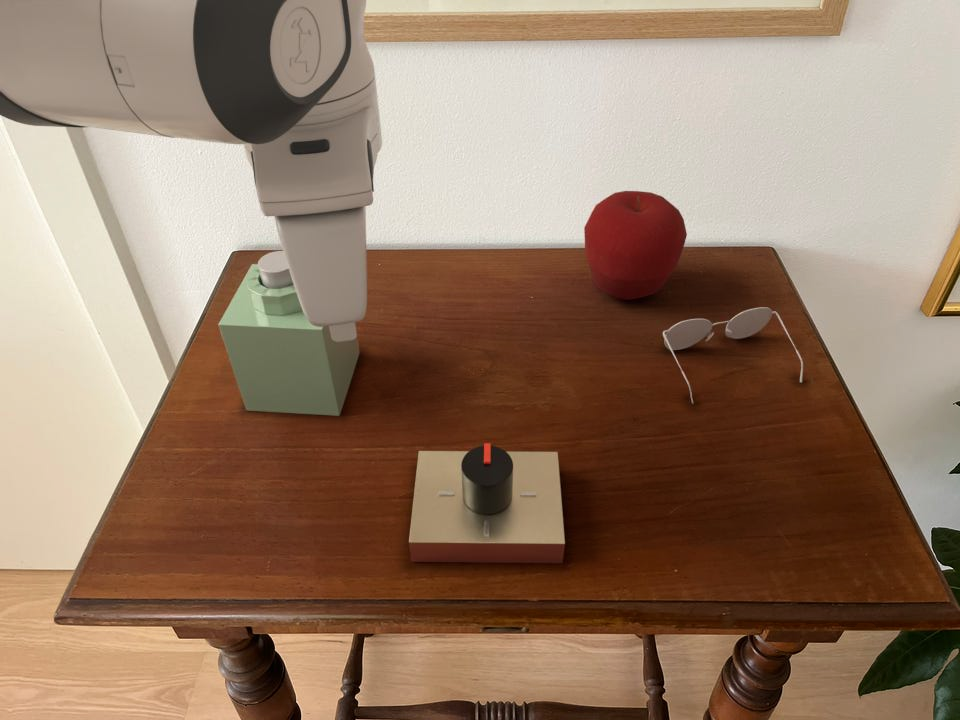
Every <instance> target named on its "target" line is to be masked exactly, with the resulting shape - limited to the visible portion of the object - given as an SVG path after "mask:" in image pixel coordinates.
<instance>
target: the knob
mask: <svg viewBox="0 0 960 720" xmlns="http://www.w3.org/2000/svg"><path fill="white" fill-rule="evenodd" d="M468 451H469V452H468V453H467V454H466V455H465V456H464V458H463V460H462V463H461V471H462V494H463V500H464V502H465V504H466V505H467V506H468V507H469V508H470V509H471V510H473V511H475V512H477V513H480V514H494V513H498V512H500V511H502V510H503V509H505V508H506V507H507V506H508V505H509V503H510V502H511V499H512V491H513V461H512V459H511V457H510V455H509V454H508V453H507V452H506V450H504V449H503V448H501V447H500V446H495V445H492V443H490V442H489V443H488V442H487V443H486V442H485V443H483V445H479V446H476V447H473V448H472V449H470V450H468Z"/></svg>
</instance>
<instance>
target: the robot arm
mask: <svg viewBox="0 0 960 720" xmlns="http://www.w3.org/2000/svg"><path fill="white" fill-rule="evenodd" d="M366 8H367V0H0V116H1V117H4V118H5V119H8V120H10V121H13V122H16V123H18V124H23V125H27V126H34V127H53V128H55V127H56V128H57V127H58V128H78V129H79V128H81V129H84V128H94V129H101V130H102V129H103V130H109V131H117V132H124V133H125V132H126V133H133V134H141V135H148V136H156V137H163V138H170V139H171V138H172V139H177V138H178V139H183V140H184V139H185V140H193V141H201V142H206V143H207V142H209V143H216V144H226V145H242V146H243V149H244V153H245V158H246V159H247V162H248V163H249V165H250V167H251V169H252V171H253V179H254V186H255V190H256V194H257V199H258V204H259V208H260V211H261V213H262V215H263V216H265V217H274V222H275V226H276V231H277V234H278V239H279V243H280V245H281V250H282V251H283V252H284V255H285V259H286V262H287V265H288V268H289V271H290V274H291V278H292V281H293V284H294V287H295V290H296V293H297V296H298V299H299V302H300V305H301V307H302V310H303V312H304V314H305V316H306V318H307V319H308V321H309V322H310V323H311V324H312V325H313V326H316V327H323V326H329V328H330V333H331V338H332V339H333V341H336V342H342V341H350V340H354V339H355V338H356V337H357V338H358V331H357V326H356V323H358V322H361V321H362V320H364V318H365V316H366V313H367V308H368V257H367V256H368V255H367V254H368V253H367V252H368V251H367V206H368V207H369V206H371V205H372V204H373V203H374V192H375V191H374V190H375V189H374V172H375V171H374V170H375V166H376V162H377V159H378V156H379V152H380V151H381V149H382V145H383V135H382V127H381V118H380V117H381V116H380V109H379V98H378V90H377V79H376V70H375V65H374V62H373V59H372V55H371V53H370V51H369V48H368V45H367V42H366V38H365V29H364V27H365V26H364V24H365V23H364V19H365V13H366Z"/></svg>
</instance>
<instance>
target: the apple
mask: <svg viewBox="0 0 960 720" xmlns="http://www.w3.org/2000/svg"><path fill="white" fill-rule="evenodd" d="M584 225H585V226H584V230H583V232H584V252H585V255H586V259H587V263H588V266H589V270H590V273H591V277H592V280H593V283H594V285H595V286H596V287H597V288H598V289H599V291H601V292H602V293H605V294H606V295H608V296H611V297H613V298H615V299H618V300H624V301H628V300H636V299H640V298H644V297H647V296H651V295H654V294H656V293H657V292H658V291H661V290H662V289H663V287H664V286H665V284H667V281H668V280H669V279H670V277H671V276H672V275H673V273H674V271H675V270H676V269H677V266H678V264H679V261H680V258H681V255H682V252H683V249H684V246H685V243H686V239H687V235H688V233H687V228H686V224H685V220H684V217H683V215H682V213H681V211H680V210H679V209H678V208H677V207H676V206H675V205H674V204H672V203H671V202H670V201H669V200H668V199H666V198H665V197H664V196H662V195H660V194H658V193H654V192H651V191H650V192H649V191H641V190H623V191H617V192H614V193H612V194H610V195H608V196H607V197H605V198H604V199H602V200H601V201H599V202H598V203H596V204H595V205H594V207H593V209H592V212H591V213H590V215H589V217H588V219H587V220H586V223H585V224H584Z"/></svg>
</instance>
